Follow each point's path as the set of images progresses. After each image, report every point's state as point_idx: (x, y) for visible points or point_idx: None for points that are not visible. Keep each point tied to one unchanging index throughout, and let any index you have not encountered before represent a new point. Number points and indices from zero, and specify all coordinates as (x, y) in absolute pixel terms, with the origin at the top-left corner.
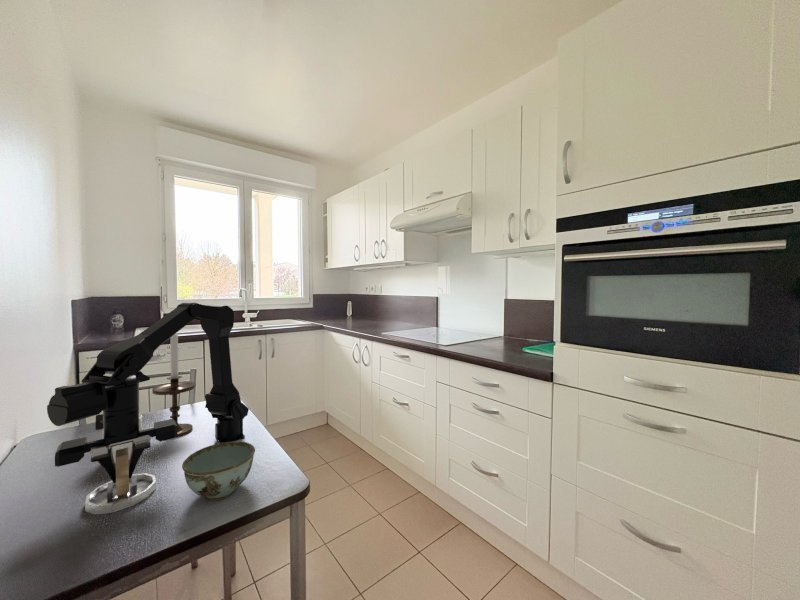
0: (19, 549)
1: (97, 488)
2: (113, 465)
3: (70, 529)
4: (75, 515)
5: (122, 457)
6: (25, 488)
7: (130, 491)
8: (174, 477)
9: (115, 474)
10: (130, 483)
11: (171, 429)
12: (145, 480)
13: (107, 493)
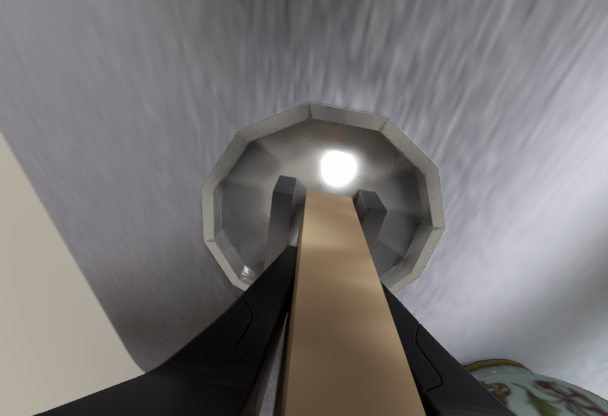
0: (104, 279)
1: (238, 147)
2: (261, 400)
3: (193, 283)
4: (193, 225)
5: None
6: None
7: None
8: (491, 229)
9: (283, 325)
10: (363, 160)
11: None
12: (412, 186)
13: None
